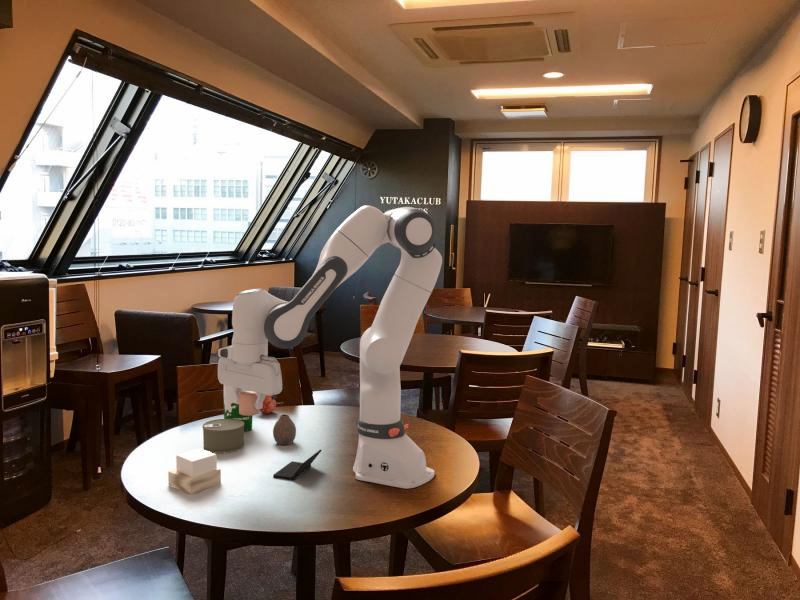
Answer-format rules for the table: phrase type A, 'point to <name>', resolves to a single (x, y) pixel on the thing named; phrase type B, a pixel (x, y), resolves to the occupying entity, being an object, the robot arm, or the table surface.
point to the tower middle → (196, 462)
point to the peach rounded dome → (247, 403)
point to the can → (223, 435)
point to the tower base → (193, 480)
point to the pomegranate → (268, 404)
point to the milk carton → (234, 408)
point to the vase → (284, 430)
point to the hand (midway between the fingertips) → (249, 406)
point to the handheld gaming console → (295, 468)
